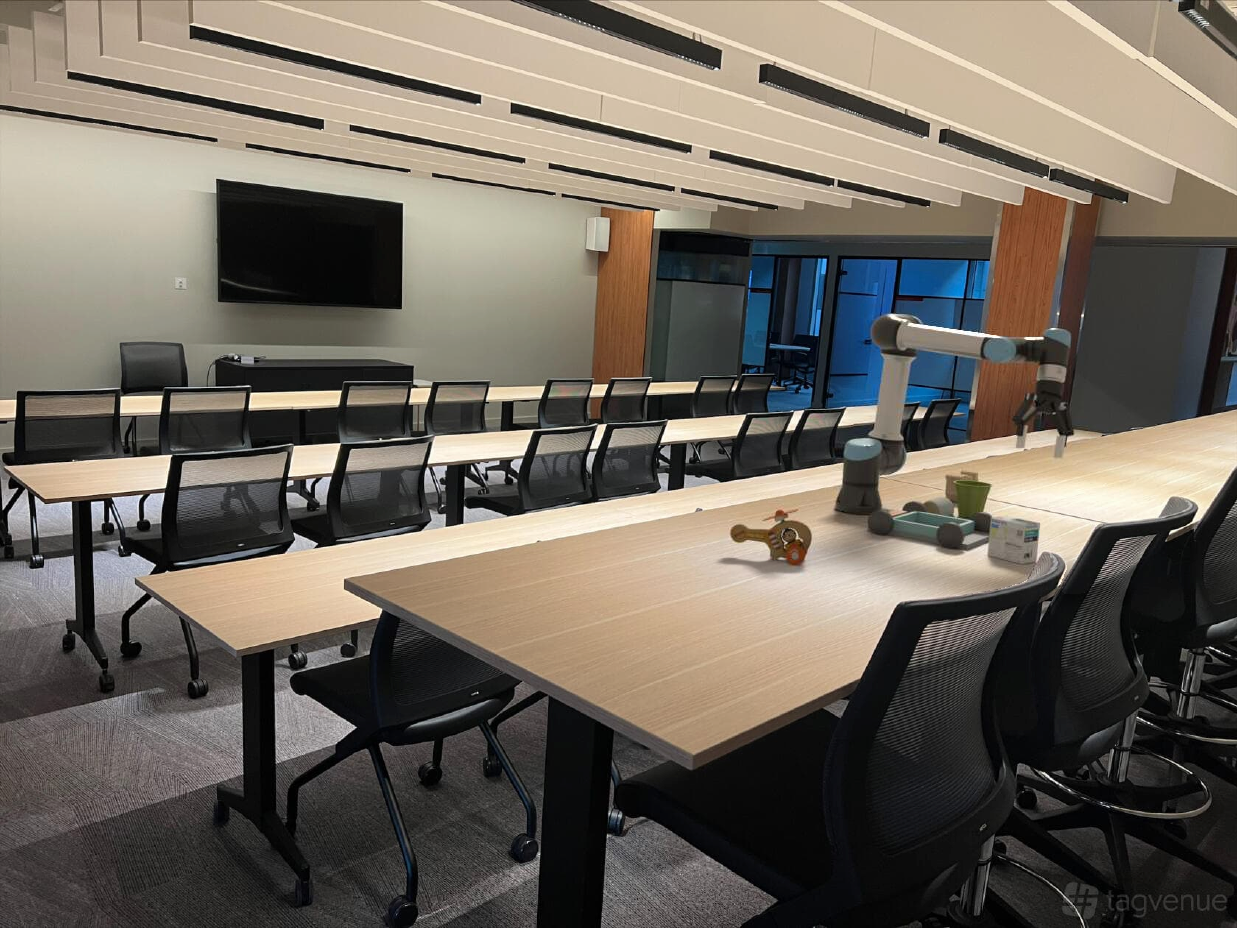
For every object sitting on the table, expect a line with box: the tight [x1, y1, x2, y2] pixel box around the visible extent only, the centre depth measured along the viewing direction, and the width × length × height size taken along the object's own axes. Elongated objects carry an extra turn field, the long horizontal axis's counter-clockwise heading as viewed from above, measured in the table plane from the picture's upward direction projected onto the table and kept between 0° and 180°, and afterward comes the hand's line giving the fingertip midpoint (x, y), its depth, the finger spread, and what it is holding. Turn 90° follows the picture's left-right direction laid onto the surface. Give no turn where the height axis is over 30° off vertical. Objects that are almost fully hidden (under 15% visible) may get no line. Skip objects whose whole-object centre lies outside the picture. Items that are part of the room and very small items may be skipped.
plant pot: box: [954, 480, 994, 519], centre depth 297 cm, size 12×12×11 cm
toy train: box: [944, 470, 979, 503], centre depth 326 cm, size 6×17×10 cm, turn 136°
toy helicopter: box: [730, 508, 813, 566], centre depth 233 cm, size 8×21×14 cm, turn 72°
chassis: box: [867, 500, 993, 551], centre depth 268 cm, size 30×25×7 cm
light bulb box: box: [986, 515, 1041, 565], centre depth 243 cm, size 11×7×11 cm, turn 33°
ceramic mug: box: [922, 496, 957, 518], centre depth 286 cm, size 11×8×8 cm
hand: (1039, 452), depth 264 cm, fingers open, 13 cm apart
